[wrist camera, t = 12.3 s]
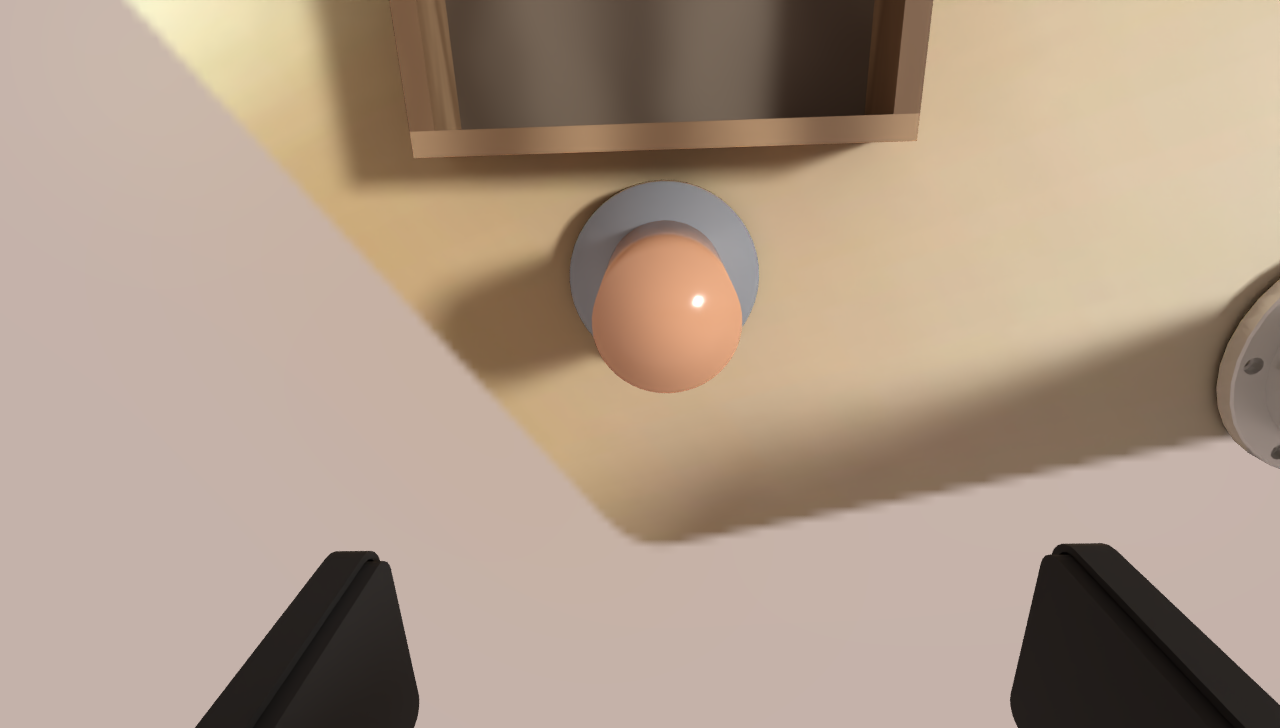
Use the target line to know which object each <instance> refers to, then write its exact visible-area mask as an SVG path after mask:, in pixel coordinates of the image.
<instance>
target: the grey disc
mask: <svg viewBox="0 0 1280 728" xmlns="http://www.w3.org/2000/svg"><path fill="white" fill-rule="evenodd" d="M661 220H671V221H677V222H681V223H685V224H688V225H690V226H692V227H694V228H696V229H697V230H699V231H700V232H702V233H703V234H704V235H705V236H706V237H707V238H708V239H709V240H710V241H711V242H712V244H713V245H714V247H715V248H716V250H717V252H718V254H719V256H720V258H721V260H722V262H723V265H724V267H725V269H726V271H727V273H728V276H729V278H730V280H731V282H732V284H733V287H734V289H735V291H736V293H737V296H738V299H739V302H740V306H741V311H742V326H743V325H744V324H745V322H746V320H747V318H748V316H749V314H750V313H751V310H752V307H753V305H754V302H755V299H756V294H757V290H758V281H759V265H758V259H757V253H756V250H755V247H754V243H753V240H752V238H751V236H750V234H749V232H748V230H747V228H746V227H745V225H744V224H743V222H742V221H741V219H740V218H739V217H738V215H737V214H736V213H735V212H734V211H733V210H732V209H731V207H730V206H728V205H727V204H726V203H725V202H724V201H723V200H722V199H720V198H719V197H717V196H716V195H714V194H713V193H711V192H710V191H708V190H705V189H703V188H701V187H699V186H696V185H693V184H690V183H687V182H681V181H675V180H656V181H648V182H644V183H640V184H636V185H633V186H631V187H628V188H626V189H624V190H622V191H620V192H618V193H617V194H615V195H613V196H612V197H611V198H609V199H608V200H607V201H605V202H604V203H603V204H602V205H601V206H600V207H599V208H598V209H597V210H596V211H595V212H594V213H593V215H592V216H591V217H590V218H589V220H588V221H587V222H586V224H585V226H584V227H583V229H582V231H581V232H580V234H579V236H578V239H577V241H576V244H575V246H574V250H573V254H572V257H571V265H570V286H571V293H572V297H573V301H574V305H575V307H576V310H577V312H578V314H579V317H580V318H581V320H582V322H583V323H584V325H585V327H586V328H587V329H588V331H589V332H590V333H591V334H592V336H593V330H592V313H593V307H594V303H595V300H596V297H597V294H598V291H599V288H600V285H601V282H602V279H603V276H604V273H605V271H606V268H607V265H608V262H609V259H610V257H611V254H612V252H613V251H614V249H615V247H616V246H617V244H618V243H619V242H620V241H621V239H622V238H623V237H625V236H626V235H627V234H628V233H629V232H631V231H632V230H633V229H635V228H637V227H639V226H641V225H643V224H646V223H649V222H654V221H661Z"/></svg>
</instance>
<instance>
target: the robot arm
mask: <svg viewBox="0 0 1280 728" xmlns="http://www.w3.org/2000/svg"><path fill="white" fill-rule="evenodd" d="M1216 390H1217V404H1218V410H1219V413H1220V416H1221V419H1222V422H1223V425H1224V426H1225V428H1226V429H1227V431H1228V432H1229V434H1230V435H1231V437H1232V438H1233V440H1234V441H1235V442H1236V443H1238V444H1239V445H1240V446H1241V447H1242V448H1243V449H1245V450H1246V451H1247V452H1248V453H1250V454H1252V455H1253V456H1255V457H1257V458H1258V459H1260V460H1262V461H1264V462H1265V463H1267V464H1269V465H1271V466H1274V467H1276V468H1279V469H1280V279H1279V280H1278V281H1277V282H1276V283H1275V284H1274V285H1273V286H1272V287H1271V288H1269V289H1268V290H1267V291H1266V292H1265V293H1264V294H1263V295H1262V296H1261V297H1260V298H1259V299H1258V300H1257V301H1256V303H1255V304H1254V305H1253V306H1252V308H1251V309H1250V310H1249V311H1248V313H1247V314H1246V315H1245V316H1244V318H1243V319H1242V320H1241V322H1240V323H1239V325H1238V327H1237V329H1236V330H1235V332H1234V334H1233V335H1232V337H1231V339H1230V341H1229V342H1228V345H1227V347H1226V350H1225V353H1224V356H1223V358H1222V361H1221V364H1220V367H1219V374H1218V380H1217V386H1216ZM1010 702H1011V703H1010V704H1011V710H1012V714H1013V717H1014V720H1015V722H1016V725H1017V727H1018V728H1280V705H1279V704H1278V703H1277V702H1276V701H1275V700H1274V699H1273V698H1271V697H1270V696H1269V695H1268V694H1267V693H1266V692H1265V691H1264V690H1263V689H1262V688H1261V687H1260V686H1259V685H1258V684H1257V683H1256V682H1255V681H1254V680H1253V679H1251V678H1250V677H1249V676H1248V675H1247V674H1246V673H1245V672H1244V671H1243V670H1242V669H1241V668H1240V667H1238V665H1237V664H1236V663H1235V662H1234V661H1232V660H1231V659H1230V658H1229V657H1228V656H1227V655H1226V654H1225V653H1224V652H1223V651H1222V650H1221V649H1220V648H1219V647H1218V646H1217V645H1216V644H1215V643H1213V642H1212V641H1211V640H1210V639H1209V638H1208V637H1207V636H1206V635H1205V634H1204V633H1203V632H1202V631H1201V630H1200V629H1199V628H1198V627H1197V626H1196V625H1194V624H1193V623H1192V622H1191V621H1190V620H1189V619H1188V618H1187V617H1186V616H1185V615H1184V614H1183V613H1182V612H1181V611H1180V610H1179V609H1177V608H1176V607H1175V606H1174V605H1173V604H1172V603H1171V602H1170V601H1169V600H1168V599H1167V598H1166V597H1165V596H1164V595H1163V594H1162V593H1161V592H1160V591H1159V590H1157V589H1156V588H1155V587H1154V586H1153V585H1152V584H1151V583H1150V582H1149V581H1148V580H1147V579H1146V578H1145V577H1144V576H1143V575H1142V574H1140V572H1139V571H1137V570H1136V569H1135V568H1134V567H1133V566H1132V565H1131V564H1130V563H1129V562H1128V561H1127V560H1126V559H1125V558H1124V557H1123V556H1122V555H1121V554H1120V553H1118V552H1117V551H1116V550H1115V549H1113V548H1112V547H1111V546H1109V545H1107V544H1102V543H1098V544H1096V543H1094V544H1061V545H1058V546H1057V547H1056V548H1055V549H1054V550H1053V553H1052V555H1046V556H1045V557H1044V558H1043V559H1042V562H1041V565H1040V569H1039V574H1038V578H1037V583H1036V587H1035V591H1034V595H1033V600H1032V605H1031V609H1030V613H1029V617H1028V622H1027V626H1026V630H1025V635H1024V639H1023V643H1022V648H1021V652H1020V656H1019V661H1018V665H1017V669H1016V674H1015V678H1014V683H1013V687H1012V691H1011V697H1010ZM418 710H419V694H418V690H417V685H416V681H415V677H414V672H413V667H412V663H411V658H410V654H409V649H408V644H407V640H406V635H405V631H404V627H403V622H402V617H401V613H400V609H399V604H398V599H397V595H396V590H395V586H394V581H393V577H392V573H391V568H390V565H389V564H388V563H387V562H385V561H380V560H379V557H378V555H377V554H376V553H375V552H372V551H340V552H338V551H336V552H333V553H331V554H330V555H329V556H328V557H327V558H326V559H325V560H324V562H323V563H322V564H321V565H320V567H319V568H318V569H317V570H316V572H315V573H314V574H313V576H312V577H311V578H310V579H309V581H308V582H307V583H306V585H305V586H304V587H303V588H302V590H301V591H300V592H299V594H298V595H297V596H296V598H295V599H294V600H293V602H292V603H291V604H290V605H289V607H288V608H287V609H286V611H285V612H284V613H283V614H282V616H281V617H280V618H279V620H278V621H277V622H276V623H275V625H274V626H273V627H272V629H271V630H270V631H269V633H268V634H267V635H266V636H265V638H264V639H263V640H262V642H261V643H260V644H259V645H258V647H257V648H256V649H255V651H254V652H253V653H252V655H251V656H250V657H249V658H248V660H247V661H246V662H245V664H244V665H243V666H242V668H241V669H240V670H239V671H238V673H237V674H236V675H235V677H234V678H233V679H232V680H231V682H230V683H229V684H228V686H227V687H226V688H225V690H224V691H223V692H222V693H221V695H220V696H219V697H218V699H217V700H216V701H215V702H214V704H213V705H212V706H211V708H210V709H209V710H208V712H207V713H206V714H205V715H204V717H203V718H202V719H201V721H200V722H199V723H198V724H197V726H196V727H195V728H414V726H415V723H416V720H417V716H418Z"/></svg>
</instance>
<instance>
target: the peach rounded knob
mask: <svg viewBox="0 0 1280 728" xmlns="http://www.w3.org/2000/svg"><path fill="white" fill-rule="evenodd" d="M592 330H593V337H594V340H595V344H596V346H597V349H598V351H599V353H600V355H601V357H602V358H603V360H604V361H605V363H606V364H607V365H608V367H609V368H610V369H611V370H612V371H613V372H614V373H615V374H616V375H617V376H619V377H620V378H621V379H623V380H624V381H626V382H628V383H629V384H631V385H633V386H635V387H638V388H640V389H644V390H647V391H651V392H658V393H675V392H681V391H686V390H689V389H693V388H696V387H698V386H700V385H702V384H704V383H706V382H707V381H709V380H710V379H712V378H713V377H714V376H716V375H717V374H718V373H719V372H720V371H721V370H722V369H723V368H724V367H725V366H726V365H727V363H728V362H729V361H730V359H731V358H732V356H733V354H734V352H735V350H736V348H737V345H738V343H739V340H740V335H741V330H742V311H741V306H740V302H739V299H738V296H737V293H736V291H735V289H734V287H733V284H732V282H731V280H730V278H729V276H728V273H727V271H726V269H725V267H724V265H723V262H722V260H721V258H720V256H719V254H718V252H717V250H716V248H715V247H714V245H713V244H712V242H711V241H710V240H709V239H708V238H707V237H706V236H705V235H704V234H703V233H702V232H700V231H699V230H697V229H696V228H694V227H692V226H690V225H688V224H685V223H681V222H677V221H671V220H661V221H654V222H649V223H646V224H643V225H641V226H639V227H637V228H635V229H633V230H632V231H631V232H629V233H628V234H627V235H626V236H625V237H623V238H622V239H621V241H620V242H619V243H618V244H617V246H616V247H615V249H614V251H613V252H612V254H611V257H610V259H609V262H608V265H607V268H606V271H605V273H604V276H603V279H602V282H601V285H600V288H599V291H598V294H597V297H596V300H595V303H594V307H593V313H592Z"/></svg>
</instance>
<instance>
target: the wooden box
mask: <svg viewBox="0 0 1280 728" xmlns="http://www.w3.org/2000/svg"><path fill="white" fill-rule="evenodd" d="M389 2H390V8H391V15H392V21H393V28H394V34H395V41H396V47H397V53H398V60H399V66H400V73H401V79H402V86H403V92H404V99H405V105H406V112H407V118H408V124H409V131H410V137H411V144H412V150H413V157H414V158H433V157H462V156H491V155H520V154H549V153H578V152H607V151H636V150H665V149H694V148H723V147H752V146H781V145H810V144H839V143H868V142H897V141H917V134H918V126H919V117H920V109H921V100H922V91H923V83H924V74H925V66H926V57H927V49H928V40H929V32H930V23H931V14H932V6H933V0H389Z"/></svg>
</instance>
